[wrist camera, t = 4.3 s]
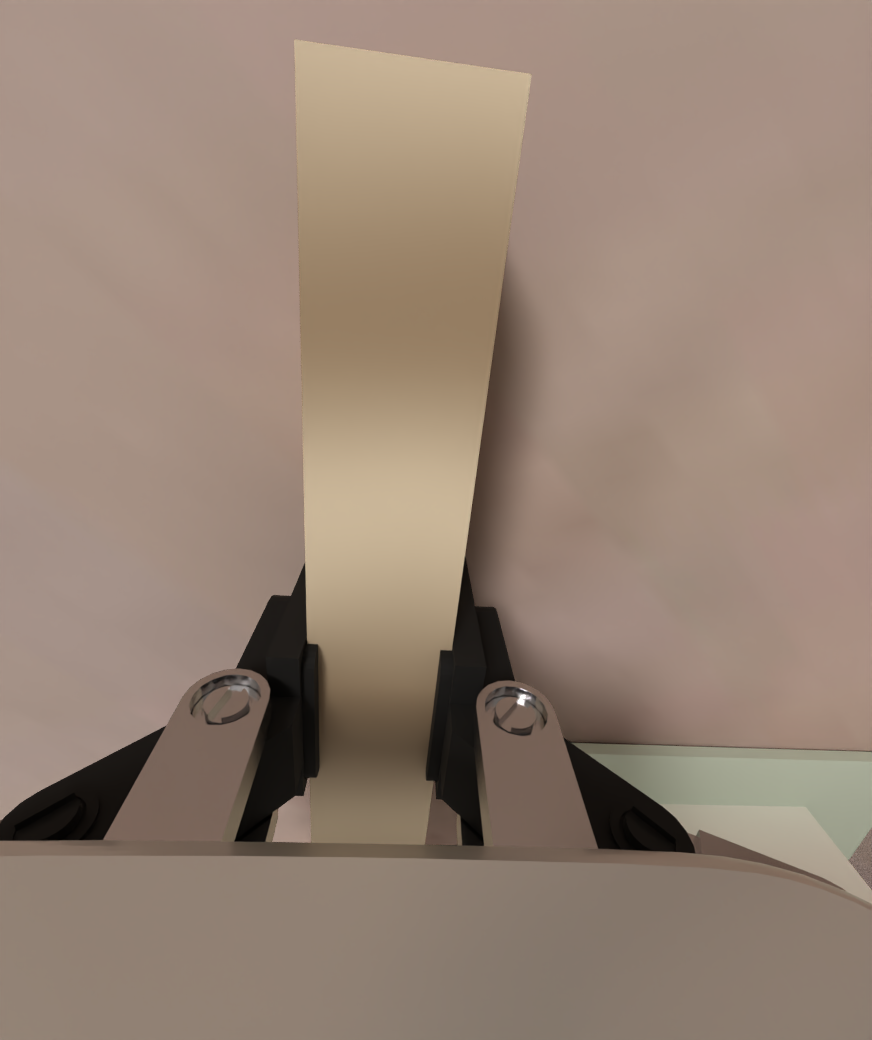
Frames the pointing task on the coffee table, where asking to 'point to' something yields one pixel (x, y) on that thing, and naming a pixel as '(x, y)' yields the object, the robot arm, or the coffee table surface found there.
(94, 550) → the coffee table surface
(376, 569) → the tan wavy bar
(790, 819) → the cream tile
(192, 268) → the coffee table surface
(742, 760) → the sage mat
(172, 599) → the coffee table surface
